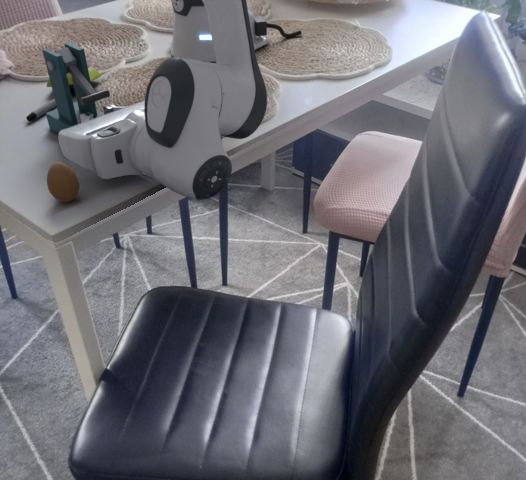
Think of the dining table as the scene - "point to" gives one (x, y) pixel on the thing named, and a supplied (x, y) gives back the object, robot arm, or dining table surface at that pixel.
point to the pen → (45, 108)
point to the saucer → (92, 74)
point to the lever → (81, 78)
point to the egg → (62, 182)
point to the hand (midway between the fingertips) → (95, 113)
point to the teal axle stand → (67, 90)
